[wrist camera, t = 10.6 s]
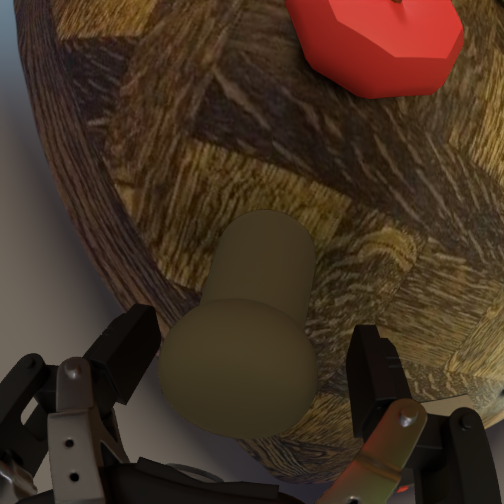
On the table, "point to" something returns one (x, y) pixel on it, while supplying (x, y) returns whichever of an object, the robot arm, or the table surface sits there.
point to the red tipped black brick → (405, 480)
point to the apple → (379, 43)
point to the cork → (247, 334)
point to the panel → (447, 405)
